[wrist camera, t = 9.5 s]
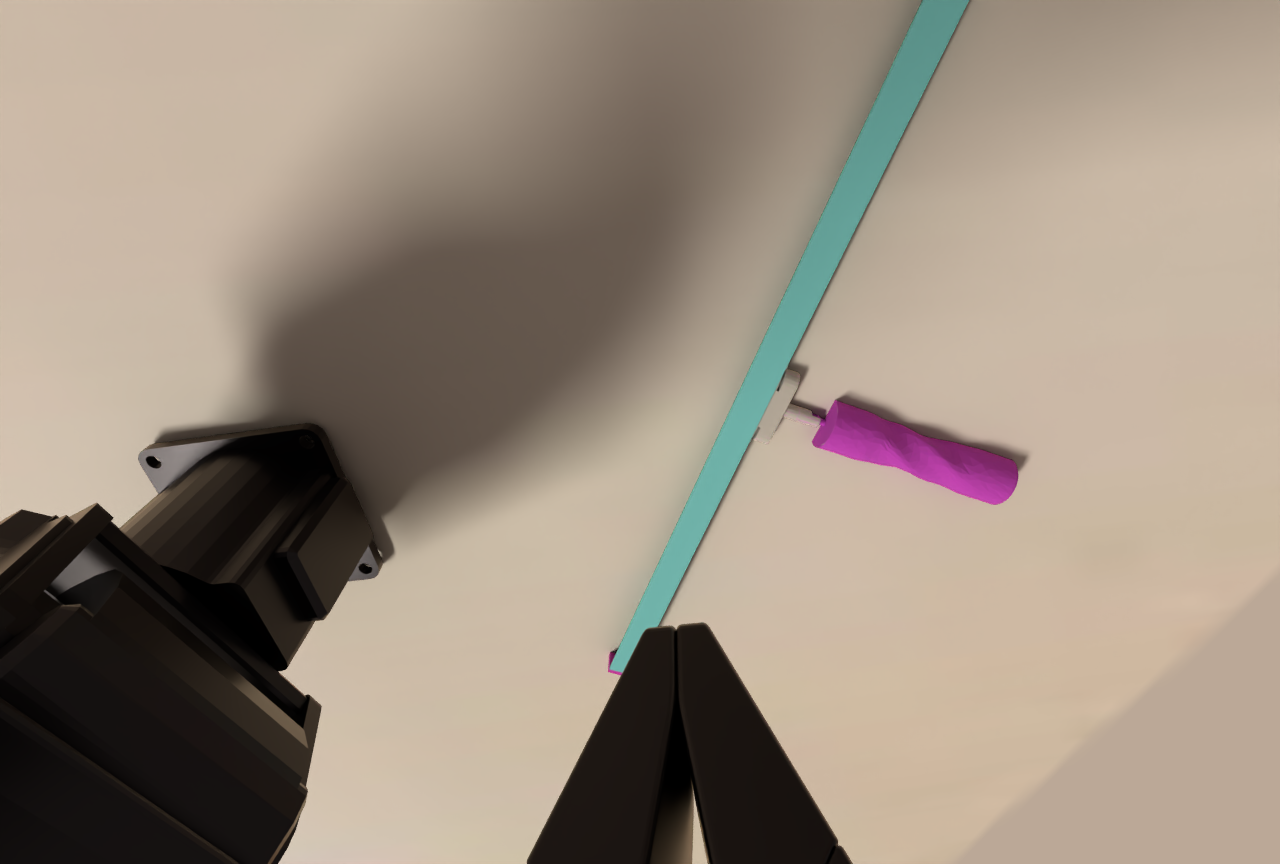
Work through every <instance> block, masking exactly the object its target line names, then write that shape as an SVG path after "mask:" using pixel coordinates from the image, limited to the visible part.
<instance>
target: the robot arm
mask: <svg viewBox="0 0 1280 864" xmlns="http://www.w3.org/2000/svg"><path fill="white" fill-rule="evenodd" d="M305 436H309V437H311V438H312V439H313V440H314V442H315V443H312V442H310V441H308V440H307V439H306V438H305ZM154 456H155V457H157V458H158V459H159V460H160V461H161V462H160V461H158V460H157V459H156V458H155V457H154ZM138 460H139V463H140V465H141V466H142V468H143V470H144V471H145V473H146V474H147V476H148V478H149V479H150V481H151V483H152V484H153V486H154V487H155V489H156V491H157V492H158V495H157V496H156V497H154V498H153V499H152V500H151V501H150V502H149V503H148V504H147V505H145V506H144V507H143V508H142V509H141V510H140V511H139V512H137V513H136V514H135V515H134V516H133V517H132V518H131V519H129V520H128V521H127V522H126V523H125V524H124V525H123V526H121V527H120V528H118V527H117V526H116V525H115V524H114V523H113V522H111V520H112V519H113V517H112V516H111V515H110V514H109V513H108V512H107V511H106V510H104V509H103V508H102V507H101V506H100V505H99V504H98V503H95V504H93V505H91V506H89V507H87V508H86V509H84V510H82V511H80V512H78V513H76V514H74V515H72V516H70V517H68V516H67V515H65V516H62V517H60V518H59V517H58V516H57V515H55V516H53V517H51V516H47V515H43V514H38V513H34V512H30V511H26V510H20V511H18V512H16V513H14V514H12V515H11V516H9V517H7V518H5V519H4V520H2V521H1V522H0V864H278V863H279V861H280V860H281V858H282V856H283V855H284V853H285V851H286V850H287V848H288V846H289V843H290V841H291V839H292V837H293V835H294V833H295V830H296V827H297V824H298V820H299V817H300V814H301V812H302V810H303V808H304V806H305V803H306V798H307V792H308V790H307V787H306V783H307V778H308V773H309V768H310V763H311V758H312V753H313V748H314V743H315V738H316V733H317V728H318V723H319V718H320V713H321V705H320V704H319V703H318V702H317V701H316V700H315V699H313V698H312V697H311V696H310V695H304V694H303V693H301V692H300V691H299V690H298V689H297V688H296V687H295V686H294V685H293V684H291V683H290V682H289V681H288V680H287V679H286V678H285V677H284V676H283V675H281V674H280V673H279V672H278V671H283V670H286V669H287V667H288V666H289V664H290V662H291V661H292V659H293V657H294V656H295V654H296V652H297V651H298V649H299V647H300V646H301V644H302V642H303V641H304V639H305V637H306V636H307V634H308V632H309V631H310V629H311V627H312V626H313V624H314V622H315V621H320V620H324V619H325V618H326V617H327V615H328V614H329V612H330V611H331V609H332V607H333V606H334V604H335V602H336V600H337V599H338V597H339V595H340V594H341V592H342V590H343V588H344V587H345V585H346V583H347V582H348V581H355V580H364V579H371V578H375V577H376V576H377V575H378V573H379V571H380V570H381V568H382V565H383V563H382V559H381V557H380V555H379V552H378V550H377V548H376V545H375V543H374V541H373V533H372V531H371V529H370V526H369V524H368V522H367V520H366V517H365V515H364V513H363V511H362V508H361V506H360V504H359V501H358V499H357V497H356V495H355V492H354V490H353V488H352V486H351V483H350V482H349V481H348V480H347V479H346V478H345V475H344V473H343V471H342V469H341V466H340V464H339V462H338V459H337V457H336V455H335V453H334V450H333V448H332V446H331V444H330V441H329V439H328V437H327V435H326V433H325V432H324V430H323V429H322V428H320V427H319V426H317V425H315V424H311V423H305V424H298V425H290V426H283V427H275V428H268V429H260V430H253V431H245V432H238V433H230V434H223V435H215V436H208V437H200V438H193V439H185V440H178V441H170V442H163V443H155V444H152V445H149V446H148V447H147V448H145V449H144V450H143V451H141V453H140V454H139V456H138ZM364 563H365V564H368V565H370V566H371V567H368V566H366V565H365V564H364ZM693 790H694V795H693ZM694 796H695V801H696V806H697V812H698V817H699V822H700V827H701V832H702V837H703V842H704V847H705V852H706V857H707V863H708V864H853V863H852V862H851V860H850V858H849V857H848V855H847V853H846V852H845V850H844V849H843V847H842V846H838V839H837V838H836V836H835V834H834V833H833V831H832V829H831V828H830V826H829V824H828V823H827V821H826V819H825V818H824V816H823V814H822V813H821V811H820V809H819V808H818V806H817V804H816V803H815V801H814V799H813V798H812V796H811V794H810V793H809V791H808V790H807V788H806V786H805V785H804V783H803V781H802V780H801V778H800V776H799V775H798V773H797V771H796V770H795V768H794V766H793V765H792V763H791V761H790V760H789V758H788V756H787V755H786V753H785V751H784V750H783V748H782V746H781V745H780V743H779V741H778V740H777V738H776V737H775V735H774V733H773V732H772V730H771V728H770V727H769V725H768V723H767V722H766V720H765V718H764V717H763V715H762V713H761V712H760V710H759V708H758V707H757V705H756V703H755V702H754V700H753V698H752V697H751V695H750V693H749V692H748V690H747V688H746V687H745V685H744V684H743V682H742V680H741V679H740V677H739V675H738V674H737V672H736V670H735V669H734V667H733V665H732V664H731V662H730V660H729V659H728V657H727V655H726V654H725V652H724V650H723V649H722V647H721V645H720V644H719V642H718V640H717V639H716V637H715V635H714V634H713V632H712V631H711V629H710V627H709V626H708V625H707V624H706V623H692V624H682V625H679V626H678V627H677V630H676V629H675V628H674V627H673V626H662V627H652V628H647V629H646V630H645V631H644V632H643V634H642V635H641V637H640V639H639V641H638V643H637V645H636V647H635V649H634V651H633V653H632V655H631V657H630V659H629V661H628V663H627V665H626V667H625V669H624V671H623V673H622V675H621V677H620V679H619V681H618V683H617V684H616V686H615V688H614V690H613V692H612V694H611V696H610V698H609V700H608V702H607V704H606V706H605V708H604V710H603V712H602V714H601V716H600V718H599V720H598V722H597V724H596V726H595V728H594V730H593V732H592V734H591V736H590V738H589V740H588V741H587V743H586V745H585V747H584V749H583V751H582V753H581V755H580V757H579V759H578V761H577V763H576V765H575V767H574V769H573V771H572V773H571V775H570V777H569V779H568V781H567V783H566V785H565V787H564V789H563V791H562V793H561V795H560V796H559V798H558V800H557V802H556V804H555V806H554V808H553V810H552V812H551V814H550V816H549V818H548V820H547V822H546V824H545V826H544V828H543V830H542V832H541V834H540V836H539V838H538V840H537V842H536V844H535V846H534V848H533V850H532V852H531V853H530V855H529V857H528V859H527V864H692V848H693V817H694Z"/></svg>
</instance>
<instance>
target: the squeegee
mask: <svg viewBox="0 0 1280 864" xmlns="http://www.w3.org/2000/svg"><path fill="white" fill-rule="evenodd" d="M968 2H969V0H922V2H921V4H920V6H919V8H918V11H917V13H916V15H915V17H914V19H913V21H912V23H911V26H910V28H909V30H908V32H907V34H906V36H905V38H904V40H903V43H902V45H901V47H900V49H899V51H898V53H897V55H896V58H895V60H894V62H893V64H892V66H891V68H890V70H889V72H888V75H887V77H886V79H885V81H884V83H883V85H882V87H881V90H880V92H879V94H878V96H877V98H876V100H875V102H874V104H873V107H872V109H871V111H870V113H869V115H868V117H867V119H866V121H865V124H864V126H863V128H862V130H861V132H860V134H859V136H858V139H857V141H856V143H855V145H854V147H853V149H852V151H851V153H850V156H849V158H848V160H847V162H846V164H845V166H844V168H843V171H842V173H841V175H840V177H839V179H838V181H837V183H836V185H835V188H834V190H833V192H832V194H831V196H830V198H829V200H828V202H827V205H826V207H825V209H824V211H823V213H822V215H821V217H820V220H819V222H818V224H817V226H816V228H815V230H814V232H813V234H812V237H811V239H810V241H809V243H808V245H807V247H806V249H805V252H804V254H803V256H802V258H801V260H800V262H799V264H798V266H797V269H796V271H795V273H794V275H793V277H792V279H791V281H790V284H789V286H788V288H787V290H786V292H785V294H784V296H783V298H782V301H781V303H780V305H779V307H778V309H777V311H776V313H775V315H774V318H773V320H772V322H771V324H770V326H769V328H768V330H767V333H766V335H765V337H764V339H763V341H762V343H761V345H760V347H759V350H758V352H757V354H756V356H755V358H754V360H753V362H752V365H751V367H750V369H749V371H748V373H747V375H746V377H745V379H744V382H743V384H742V386H741V388H740V390H739V392H738V394H737V397H736V399H735V401H734V403H733V405H732V407H731V409H730V411H729V414H728V416H727V418H726V420H725V422H724V424H723V426H722V428H721V431H720V433H719V435H718V437H717V439H716V441H715V443H714V446H713V448H712V450H711V452H710V454H709V456H708V458H707V460H706V463H705V465H704V467H703V469H702V471H701V473H700V475H699V478H698V480H697V482H696V484H695V486H694V488H693V490H692V492H691V495H690V497H689V499H688V501H687V503H686V505H685V507H684V509H683V512H682V514H681V516H680V518H679V520H678V522H677V524H676V527H675V529H674V531H673V533H672V535H671V537H670V539H669V541H668V544H667V546H666V548H665V550H664V552H663V554H662V556H661V559H660V561H659V563H658V565H657V567H656V569H655V571H654V573H653V576H652V578H651V580H650V582H649V584H648V586H647V588H646V591H645V593H644V595H643V597H642V599H641V601H640V603H639V605H638V608H637V610H636V612H635V614H634V616H633V618H632V620H631V622H630V625H629V627H628V629H627V631H626V633H625V635H624V637H623V640H622V642H621V644H620V646H619V648H618V650H617V652H616V653H612V652H610V654H609V666H608V672H610V673H614V674H618V675H622V673H623V671H624V669H625V667H626V665H627V663H628V661H629V659H630V657H631V655H632V653H633V651H634V649H635V647H636V645H637V643H638V641H639V639H640V637H641V635H642V634H643V632H644V631H645V630H646V629H647V628H652V627H658V625H659V623H660V621H661V619H662V617H663V615H664V613H665V611H666V609H667V607H668V605H669V603H670V601H671V599H672V597H673V595H674V593H675V591H676V589H677V587H678V585H679V583H680V581H681V578H682V576H683V574H684V572H685V570H686V568H687V566H688V564H689V562H690V560H691V558H692V556H693V554H694V552H695V550H696V548H697V546H698V544H699V542H700V540H701V538H702V536H703V534H704V532H705V530H706V528H707V526H708V524H709V522H710V520H711V518H712V516H713V514H714V512H715V510H716V508H717V506H718V504H719V502H720V500H721V498H722V496H723V494H724V492H725V490H726V488H727V486H728V484H729V482H730V480H731V478H732V476H733V474H734V472H735V470H736V468H737V466H738V464H739V462H740V460H741V458H742V456H743V454H744V452H745V450H746V448H747V446H748V444H749V442H750V443H751V441H752V440H755V441H758V442H761V443H764V444H768V443H769V442H770V440H771V438H772V437H773V435H774V433H775V431H776V429H777V427H778V425H779V423H780V421H781V419H782V417H784V418H787V419H790V420H793V421H796V422H799V423H802V424H805V425H810V426H814V427H818V426H819V425H821V426H820V428H819V430H818V432H817V433H816V435H815V437H814V439H813V441H812V443H813V445H814V446H815V447H817V448H821V449H824V450H827V451H831V452H834V453H837V454H840V455H843V456H846V457H848V458H851V459H855V460H860V461H865V462H870V463H874V464H879V465H884V466H891V467H897V468H899V469H902V470H904V471H907V472H909V473H911V474H913V475H914V476H916V477H918V478H920V479H923V480H925V481H928V482H932V483H935V484H939V485H941V486H943V487H946V488H948V489H950V490H952V491H954V492H956V493H959V494H962V495H965V496H968V497H971V498H974V499H977V500H980V501H983V502H986V503H989V504H993V505H996V504H1000V503H1003V502H1004V501H1006V500H1007V499H1008V498H1009V497H1010V496H1011V495H1012V493H1013V491H1014V490H1015V487H1016V485H1017V481H1018V469H1017V466H1016V464H1015V462H1014V461H1013V460H1010V459H1007V458H1004V457H1002V456H999V455H996V454H993V453H990V452H987V451H984V450H981V449H977V448H973V447H969V446H965V445H961V444H958V443H955V442H950V441H944V440H939V439H935V438H929V437H926V436H922V435H920V434H918V433H916V432H914V431H913V430H911V429H909V428H907V427H905V426H903V425H901V424H898V423H894V422H890V421H887V420H885V419H882V418H880V417H878V416H877V415H875V414H873V413H871V412H868V411H866V410H862V409H859V408H856V407H854V406H851V405H848V404H845V403H842V402H839V401H836V400H835V401H834V403H833V405H832V407H831V408H830V410H829V412H828V414H827V416H826V417H825V419H822V418H820V416H819V415H816V414H813V413H812V411H811V410H808V409H805V408H802V407H799V406H796V405H793V404H790V402H791V400H792V398H793V396H794V394H795V392H796V390H797V388H798V385H799V382H800V375H799V373H798V372H795V371H792V370H790V369H788V363H789V361H790V359H791V357H792V355H793V353H794V351H795V349H796V347H797V345H798V343H799V341H800V339H801V337H802V335H803V333H804V331H805V329H806V327H807V325H808V323H809V321H810V319H811V317H812V315H813V313H814V311H815V309H816V307H817V305H818V303H819V301H820V299H821V297H822V295H823V293H824V291H825V289H826V287H827V285H828V283H829V281H830V279H831V277H832V275H833V273H834V271H835V269H836V267H837V265H838V263H839V261H840V259H841V257H842V255H843V253H844V251H845V249H846V247H847V245H848V243H849V241H850V239H851V237H852V235H853V233H854V231H855V229H856V227H857V225H858V223H859V221H860V219H861V217H862V215H863V213H864V211H865V209H866V207H867V205H868V203H869V201H870V199H871V197H872V195H873V193H874V191H875V189H876V187H877V185H878V183H879V181H880V179H881V177H882V175H883V173H884V171H885V168H886V166H887V164H888V162H889V160H890V158H891V156H892V154H893V152H894V150H895V148H896V146H897V144H898V142H899V140H900V138H901V136H902V134H903V132H904V130H905V128H906V126H907V124H908V122H909V120H910V118H911V116H912V114H913V112H914V110H915V108H916V106H917V104H918V102H919V100H920V98H921V96H922V94H923V92H924V90H925V88H926V86H927V84H928V82H929V80H930V78H931V76H932V74H933V72H934V70H935V68H936V66H937V64H938V62H939V60H940V58H941V56H942V54H943V52H944V50H945V48H946V46H947V44H948V42H949V40H950V38H951V36H952V34H953V32H954V30H955V28H956V26H957V24H958V22H959V20H960V18H961V16H962V14H963V12H964V10H965V8H966V6H967V4H968ZM751 438H752V439H751Z"/></svg>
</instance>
